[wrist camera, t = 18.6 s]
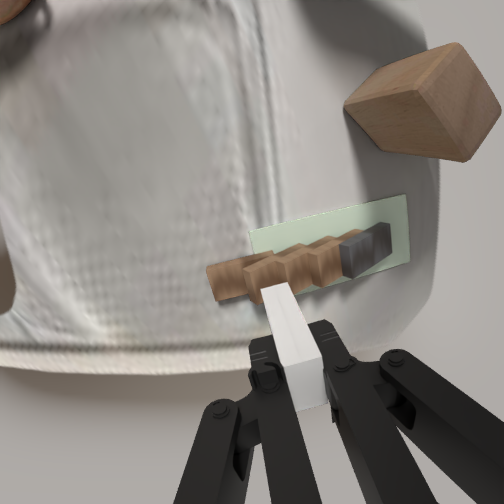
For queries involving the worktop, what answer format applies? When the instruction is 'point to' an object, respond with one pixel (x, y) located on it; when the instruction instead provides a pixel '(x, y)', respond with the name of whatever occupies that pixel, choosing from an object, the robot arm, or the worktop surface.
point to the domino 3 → (328, 260)
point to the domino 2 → (298, 266)
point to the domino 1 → (264, 274)
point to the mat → (341, 231)
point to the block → (427, 105)
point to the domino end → (232, 276)
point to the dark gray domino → (365, 249)
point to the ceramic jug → (11, 9)
